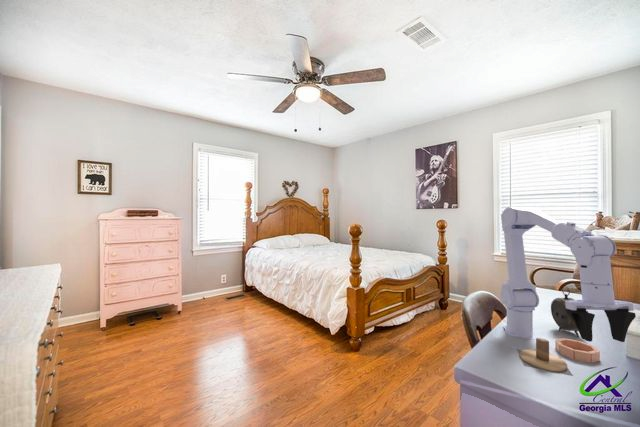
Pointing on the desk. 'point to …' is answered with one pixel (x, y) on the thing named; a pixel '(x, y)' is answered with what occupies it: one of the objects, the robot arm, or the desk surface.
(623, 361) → the desk surface
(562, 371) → the mat
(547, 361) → the lid
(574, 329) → the alarm clock
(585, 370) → the desk surface
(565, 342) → the bowl
